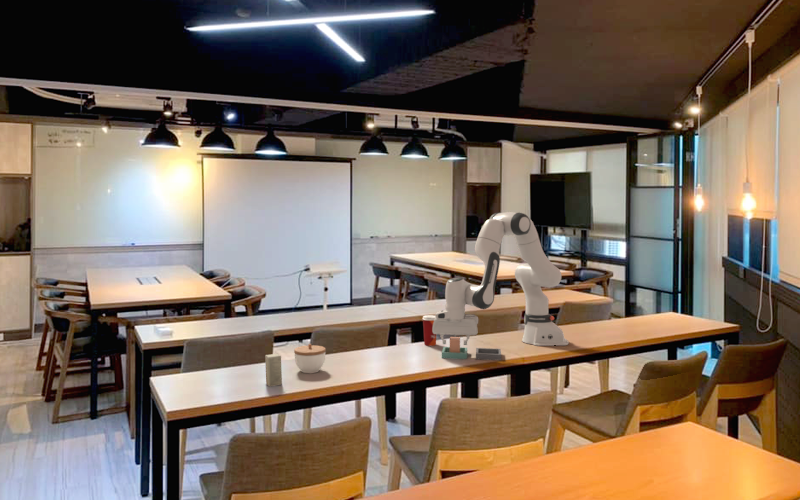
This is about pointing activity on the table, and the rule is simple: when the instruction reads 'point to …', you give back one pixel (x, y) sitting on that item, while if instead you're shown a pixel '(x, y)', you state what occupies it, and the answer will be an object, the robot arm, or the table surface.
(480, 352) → the bin
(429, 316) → the paper cup
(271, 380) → the box
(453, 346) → the block
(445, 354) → the bin
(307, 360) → the lidded bowl
